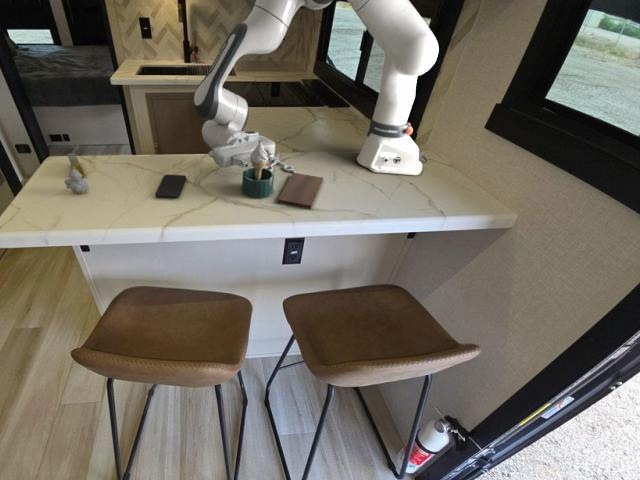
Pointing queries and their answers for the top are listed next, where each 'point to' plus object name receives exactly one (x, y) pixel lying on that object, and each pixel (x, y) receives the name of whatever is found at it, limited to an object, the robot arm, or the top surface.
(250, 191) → the cup
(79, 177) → the grey lumpy piece
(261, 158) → the ice cream cone
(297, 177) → the board
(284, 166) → the scissors
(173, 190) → the phone
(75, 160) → the medication box
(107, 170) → the top surface
